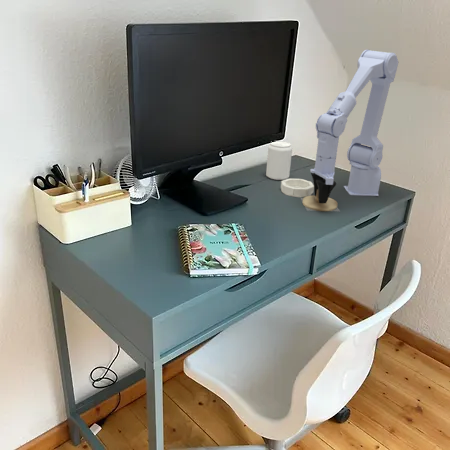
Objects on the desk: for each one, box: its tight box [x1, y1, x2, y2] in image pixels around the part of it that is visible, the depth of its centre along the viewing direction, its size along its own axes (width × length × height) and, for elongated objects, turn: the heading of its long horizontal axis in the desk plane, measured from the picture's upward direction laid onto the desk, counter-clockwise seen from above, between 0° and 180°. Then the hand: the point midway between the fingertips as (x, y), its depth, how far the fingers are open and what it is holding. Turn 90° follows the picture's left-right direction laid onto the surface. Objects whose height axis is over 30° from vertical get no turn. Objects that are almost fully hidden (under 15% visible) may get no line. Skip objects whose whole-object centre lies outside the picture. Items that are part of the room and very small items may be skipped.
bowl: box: [280, 177, 314, 198], centre depth 160 cm, size 10×10×3 cm
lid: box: [301, 190, 339, 212], centre depth 150 cm, size 10×10×4 cm
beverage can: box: [265, 140, 293, 181], centre depth 171 cm, size 8×8×12 cm
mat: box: [299, 197, 341, 212], centre depth 151 cm, size 10×10×1 cm
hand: (320, 199), depth 150 cm, fingers open, 5 cm apart
